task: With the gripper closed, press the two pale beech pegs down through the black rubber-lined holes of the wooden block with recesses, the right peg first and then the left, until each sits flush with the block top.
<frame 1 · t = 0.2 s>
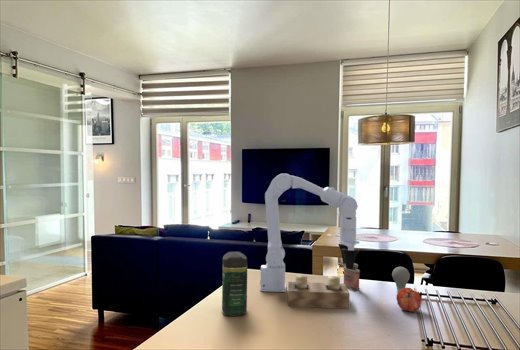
hand: (347, 265, 130), 10 cm above the kitchen counter, tool pointing down, fingers open, 7 cm apart
right peg: (333, 284, 121), point 6 cm above the kitchen counter, slide at 0.0 cm
left peg: (301, 283, 122), point 6 cm above the kitchen counter, slide at 0.0 cm
light bulb: (400, 294, 130), on the kitchen counter
pomegranate: (408, 310, 115), on the kitchen counter
wooden block with recesses: (317, 301, 121), on the kitchen counter
coffee jar: (234, 311, 113), on the kitchen counter
red ornate tin: (351, 288, 136), on the kitchen counter
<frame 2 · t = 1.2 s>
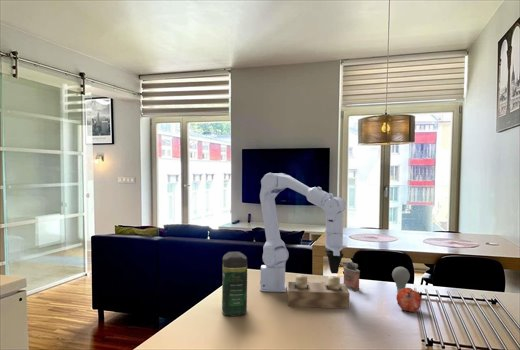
hand: (333, 272, 121), 10 cm above the kitchen counter, tool pointing down, fingers closed
nothing on the kitchen counter moved.
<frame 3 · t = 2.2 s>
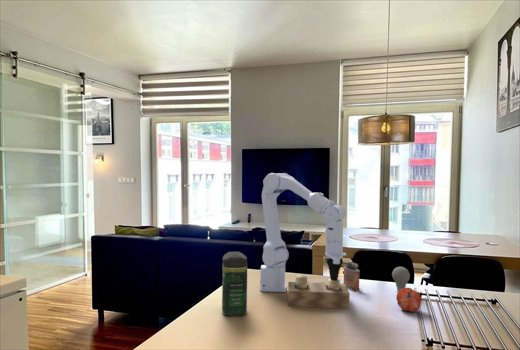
hand: (333, 279, 121), 8 cm above the kitchen counter, tool pointing down, fingers closed, pressing on right peg
right peg: (333, 287, 121), point 5 cm above the kitchen counter, slide at 0.8 cm, touching gripper
everything else where it was.
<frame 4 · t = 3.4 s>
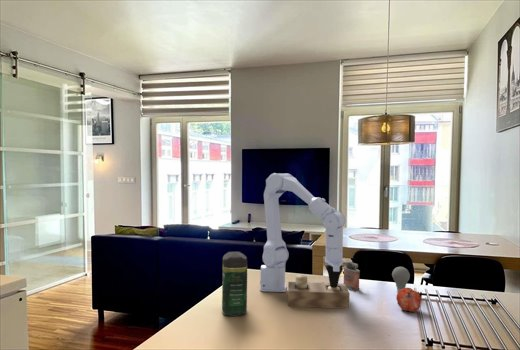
hand: (333, 286, 121), 5 cm above the kitchen counter, tool pointing down, fingers closed
right peg: (333, 294, 121), point 3 cm above the kitchen counter, slide at 3.5 cm
everything else where it was.
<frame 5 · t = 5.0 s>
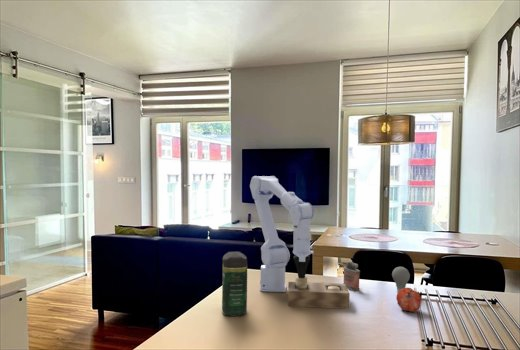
hand: (301, 277, 122), 8 cm above the kitchen counter, tool pointing down, fingers closed, pressing on left peg
left peg: (301, 284, 122), point 6 cm above the kitchen counter, slide at 0.3 cm, touching gripper
everything else where it was.
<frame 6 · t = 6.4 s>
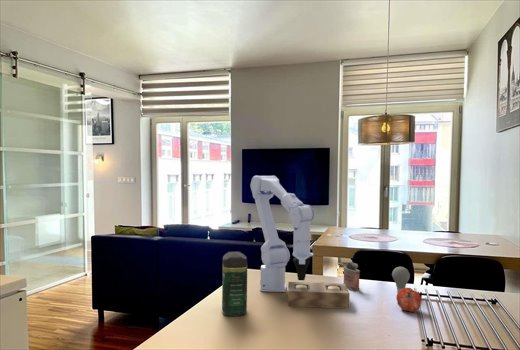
hand: (301, 279, 122), 7 cm above the kitchen counter, tool pointing down, fingers closed
left peg: (301, 293, 122), point 3 cm above the kitchen counter, slide at 3.5 cm
everything else where it was.
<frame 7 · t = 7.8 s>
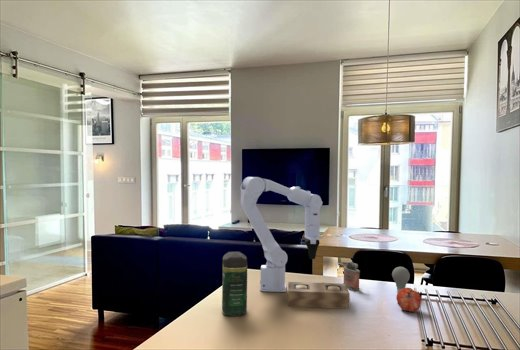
hand: (312, 258, 139), 10 cm above the kitchen counter, tool pointing down, fingers closed
nothing on the kitchen counter moved.
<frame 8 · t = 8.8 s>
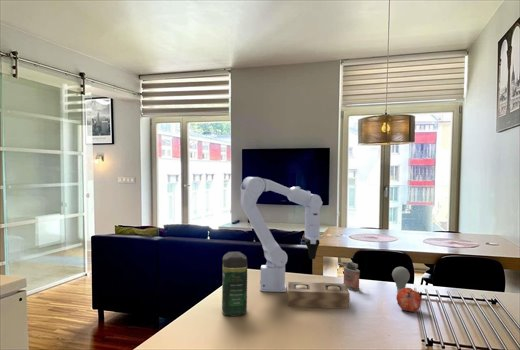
hand: (312, 258, 139), 10 cm above the kitchen counter, tool pointing down, fingers closed
nothing on the kitchen counter moved.
at the end: right peg slide at 3.5 cm; left peg slide at 3.5 cm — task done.
